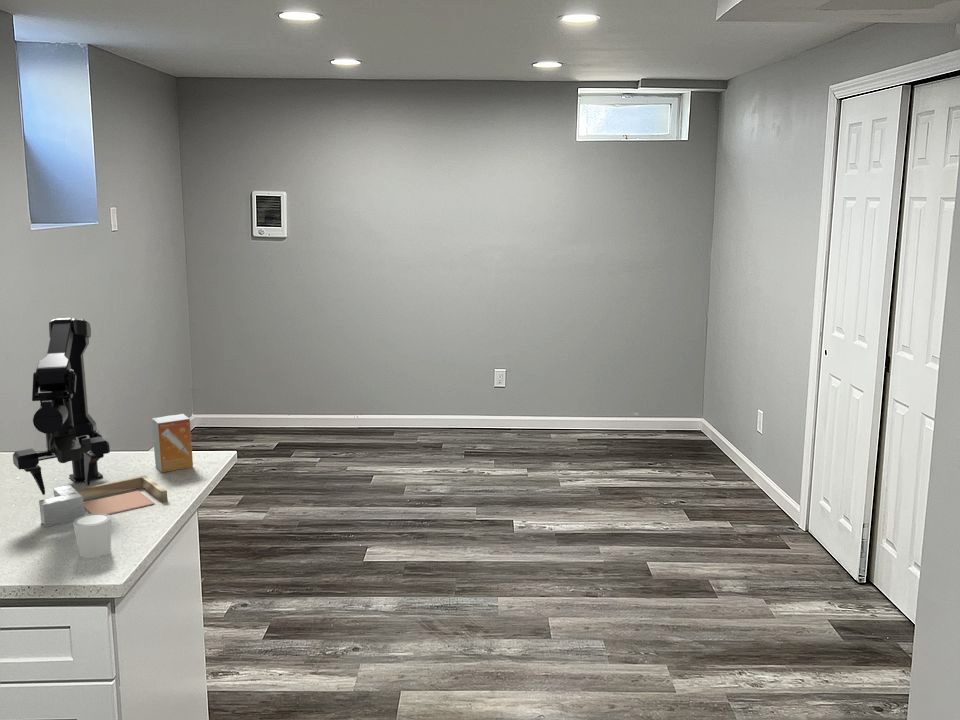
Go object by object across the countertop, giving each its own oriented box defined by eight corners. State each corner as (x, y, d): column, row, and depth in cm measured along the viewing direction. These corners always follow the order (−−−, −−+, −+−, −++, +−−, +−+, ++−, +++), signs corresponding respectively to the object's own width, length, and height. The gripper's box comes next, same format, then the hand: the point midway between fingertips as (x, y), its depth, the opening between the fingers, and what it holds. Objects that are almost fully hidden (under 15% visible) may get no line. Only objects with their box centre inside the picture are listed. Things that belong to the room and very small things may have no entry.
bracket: (84, 518, 197) (82, 496, 196) (45, 527, 192) (43, 504, 191) (72, 506, 204) (70, 484, 203) (34, 514, 199) (31, 492, 198)
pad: (80, 504, 205) (80, 503, 205) (138, 491, 213) (138, 490, 213) (94, 517, 197) (94, 516, 197) (154, 504, 205) (154, 503, 205)
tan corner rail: (69, 501, 207) (67, 491, 207) (146, 484, 218) (145, 475, 217) (87, 519, 196) (86, 508, 195) (167, 500, 207) (166, 490, 206)
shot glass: (83, 546, 181) (80, 513, 180) (118, 545, 182) (115, 512, 180) (71, 560, 175) (67, 526, 173) (107, 559, 175) (104, 525, 174)
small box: (161, 473, 227) (157, 423, 224) (155, 466, 232) (151, 417, 229) (194, 467, 231) (190, 418, 229) (187, 461, 236) (183, 413, 234)
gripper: (20, 437, 185) (28, 509, 188) (114, 421, 196) (120, 489, 199) (8, 426, 193) (16, 495, 196) (99, 411, 205) (105, 477, 208)
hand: (66, 489), depth 200 cm, fingers open, 9 cm apart
